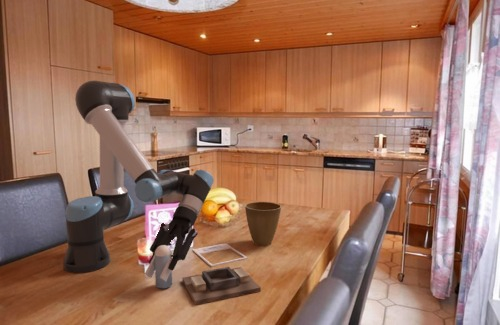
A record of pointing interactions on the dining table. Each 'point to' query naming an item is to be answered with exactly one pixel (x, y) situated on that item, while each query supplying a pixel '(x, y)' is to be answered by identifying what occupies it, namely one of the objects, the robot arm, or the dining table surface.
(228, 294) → the jig board
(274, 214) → the plant pot
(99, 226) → the robot arm
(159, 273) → the grey cylinder bottle
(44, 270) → the dining table surface
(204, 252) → the photo frame
